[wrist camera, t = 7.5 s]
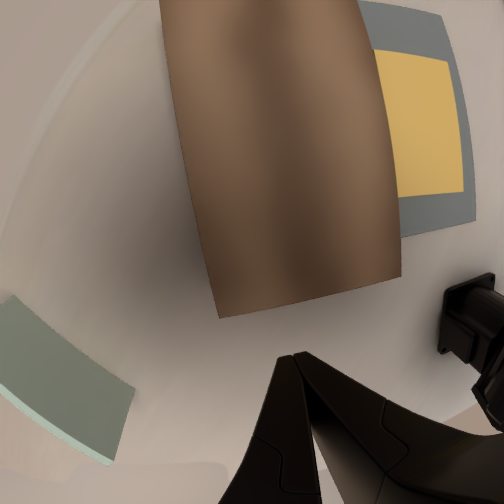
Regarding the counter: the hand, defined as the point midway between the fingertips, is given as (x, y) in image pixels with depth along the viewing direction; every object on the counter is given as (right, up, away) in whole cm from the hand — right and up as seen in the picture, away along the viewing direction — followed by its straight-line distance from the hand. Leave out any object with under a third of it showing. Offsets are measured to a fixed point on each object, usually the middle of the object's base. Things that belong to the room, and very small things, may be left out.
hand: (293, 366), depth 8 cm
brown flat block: (+1, +10, +9) cm, 13 cm away
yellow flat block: (+9, +12, +9) cm, 17 cm away
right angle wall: (-19, -8, +12) cm, 24 cm away
